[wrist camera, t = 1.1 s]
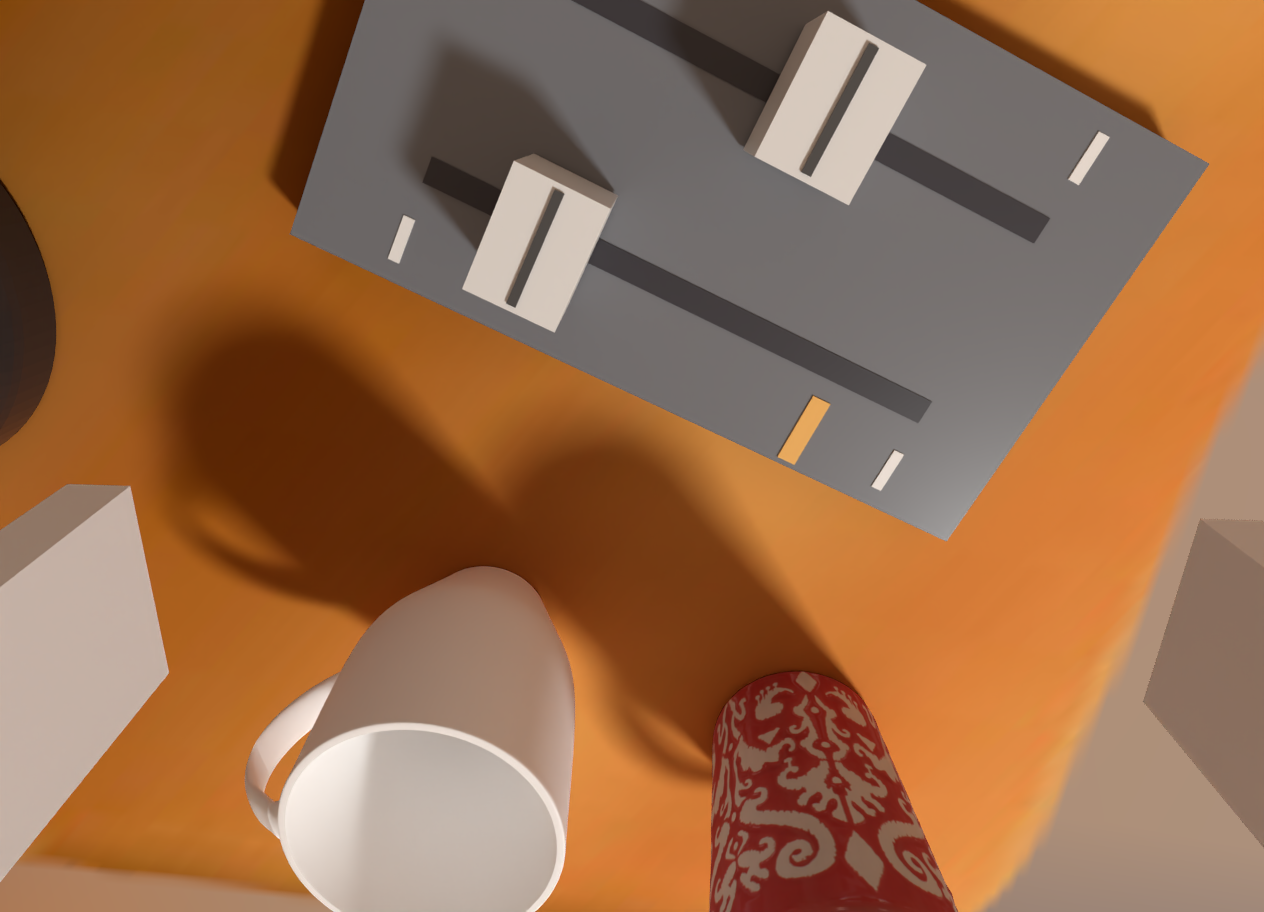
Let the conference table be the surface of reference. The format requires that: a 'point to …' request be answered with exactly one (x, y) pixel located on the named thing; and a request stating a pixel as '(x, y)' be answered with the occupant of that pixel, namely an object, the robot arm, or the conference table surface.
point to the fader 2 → (833, 106)
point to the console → (759, 222)
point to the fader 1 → (539, 240)
